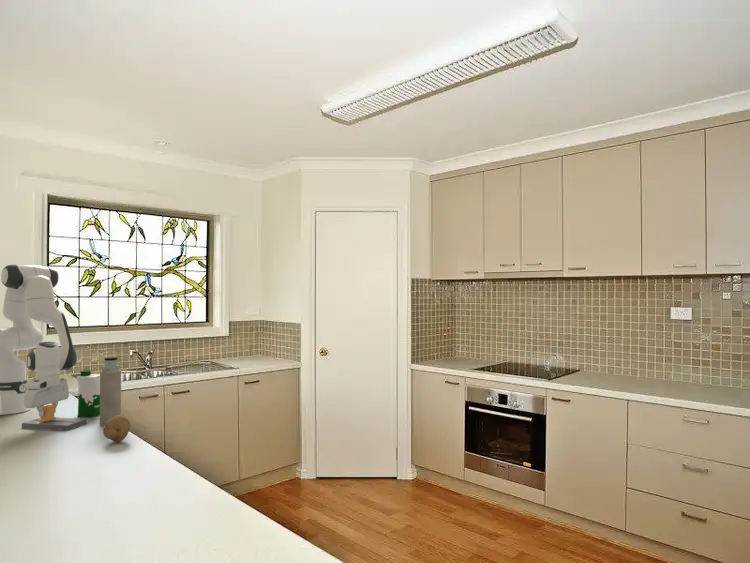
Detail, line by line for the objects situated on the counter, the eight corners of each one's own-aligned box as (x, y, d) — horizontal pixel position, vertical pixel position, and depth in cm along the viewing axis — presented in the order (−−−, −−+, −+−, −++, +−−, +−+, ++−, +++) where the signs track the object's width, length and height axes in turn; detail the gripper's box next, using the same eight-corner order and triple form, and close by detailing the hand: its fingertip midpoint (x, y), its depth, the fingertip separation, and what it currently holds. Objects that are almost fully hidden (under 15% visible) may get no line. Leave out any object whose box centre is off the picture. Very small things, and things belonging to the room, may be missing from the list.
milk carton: (85, 412, 240) (86, 369, 241) (105, 413, 240) (105, 369, 240) (74, 417, 231) (74, 372, 232) (94, 417, 231) (94, 372, 232)
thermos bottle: (107, 421, 225) (107, 356, 225) (124, 421, 224) (125, 356, 225) (95, 426, 217) (96, 358, 218) (113, 426, 216) (114, 358, 217)
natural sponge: (119, 447, 188) (119, 419, 188) (97, 445, 190) (97, 418, 190) (135, 440, 197) (135, 413, 197) (114, 438, 199) (114, 412, 199)
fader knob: (38, 420, 216) (38, 407, 216) (47, 418, 221) (48, 404, 221) (46, 421, 215) (47, 407, 215) (56, 418, 220) (56, 405, 220)
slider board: (21, 428, 214) (21, 422, 214) (43, 421, 224) (43, 416, 225) (67, 430, 210) (67, 425, 210) (86, 423, 221) (86, 418, 221)
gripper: (60, 377, 229) (59, 408, 229) (21, 385, 209) (20, 420, 209) (72, 377, 228) (72, 409, 228) (34, 385, 208) (34, 420, 208)
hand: (47, 414), depth 218 cm, fingers closed on fader knob, 4 cm apart
